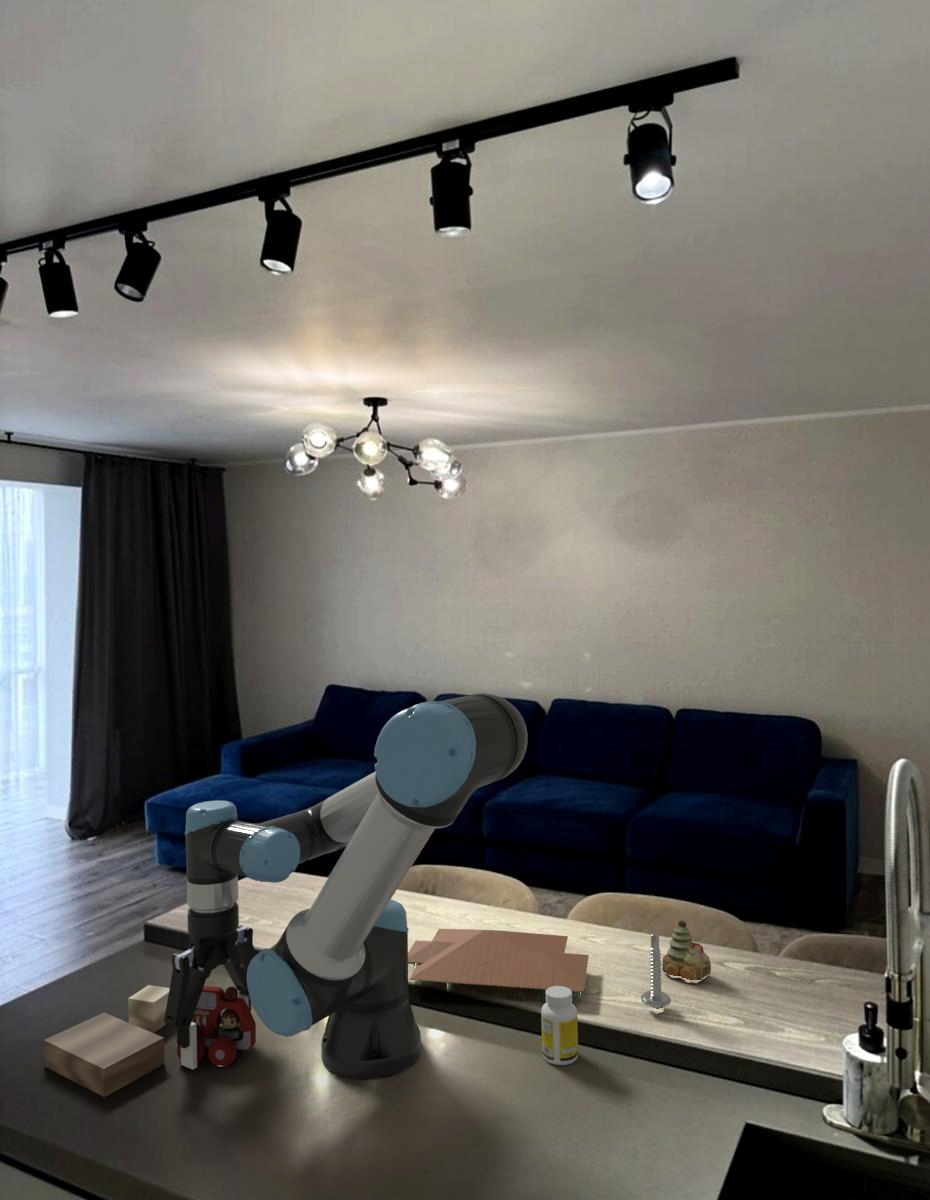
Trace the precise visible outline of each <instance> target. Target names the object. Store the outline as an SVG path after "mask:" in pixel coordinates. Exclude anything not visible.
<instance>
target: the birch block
mask: <svg viewBox="0 0 930 1200" xmlns="http://www.w3.org/2000/svg"><path fill="white" fill-rule="evenodd" d="M169 989H170V987H164V986H159V985H151V984H148V985H146V986H144V988H142V989H140V990H139V991H138V992H136V993H134V994H133V995H131V996H129V997H128V999H127V1001H128V1003H127V1004H128V1023H130V1024H133V1025H135V1026H137V1027H140V1028H142V1029H144V1030H147V1031H149V1032H151V1033H154V1034H156V1032H157V1031H159V1030H160V1029H161V1028H163V1027H164V1026H166V1025H167V1024H166V1023H164V1017H165V1012H166V1006H167V1000H168V995H169Z"/></svg>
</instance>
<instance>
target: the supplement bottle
mask: <svg viewBox="0 0 930 1200" xmlns="http://www.w3.org/2000/svg"><path fill="white" fill-rule="evenodd" d="M572 997H573V991H571V990H570V989H569V988H567V987H563V986H553V987H550V988H548V989H547V990H546V997H544V1000H545V999H546V1003H544V1004H543V1005H542V1007H541V1010H540V1011H541V1014H540V1015H541V1016H540V1017H541V1052H542V1057H543V1059H544V1060H545V1061H546V1062H547V1063H549V1064H552V1065H556V1066H557V1065H558V1066H566V1065H570V1064H573V1063H575V1062H576V1061H577V1059H578V1057H579V1036H578V1035H579V1032H578V1009H577V1007H576V1005H575V1004H573V1003H572V1002H573V998H572Z"/></svg>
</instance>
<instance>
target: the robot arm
mask: <svg viewBox="0 0 930 1200" xmlns="http://www.w3.org/2000/svg"><path fill="white" fill-rule="evenodd" d="M528 736H529V735H528V730H527V725H526V723H525V719H524V718H523V716H522V715H521V713H520V711H519V710H518V709H517V708H516V707H515V705H513V704H512V703H511V702H509V701H508V700H507V699H505V698H503V697H501V696H498V695H495V694H491V693H483V692H481V693H475V694H474V693H473V694H469V695H465V696H461V697H454V698H449V699H445V700H439V701H437V700H433V701H425V702H420V703H418V704H415V705H413V706H412V707H408V708H405V709H403V710H401V711H399V712H397V713H396V714H394V715H393V716H392V717H391V718H390V719H389V720H388V721H387V722H386V723H385V724H384V726H383V727H382V729H381V730H380V732H379V734H378V736H377V739H376V744H375V746H374V751H373V752H374V754H373V756H374V757H375V758H376V763H375V764H374V772H372V773H370V774H368V775H367V776H365V777H363V778H361V779H360V780H357V781H356V782H354V783H352V784H350V785H349V786H347V787H345V788H344V789H341V790H340V791H338V792H336V793H334V794H333V795H331V796H329V797H327V798H326V799H324V800H322V801H320V802H318V803H316V804H315V805H313V806H311V807H308V808H306V809H303V810H300V811H297V812H294V813H290V814H287V815H283V816H281V817H280V816H279V817H278V818H273V819H269V820H267V821H263V822H259V823H251V822H245V821H242V820H238V818H239V815H238V814H237V813H238V812H237V811H238V810H237V807H236V805H235V803H233V802H232V801H228V800H210V801H209V800H207V801H202V802H198V803H195V804H194V805H192V806H190V807H189V808H188V809H187V810H186V813H185V815H186V816H185V817H186V818H185V832H184V836H185V837H184V838H185V858H186V859H185V861H186V863H185V864H186V892H187V893H186V897H187V898H186V899H187V901H186V903H187V906H188V907H189V908H188V910H187V911H186V913H187V932H188V935H189V939H190V942H189V945H188V948H187V950H185V951H184V952H182V953H179V952H178V953H177V952H174V953H173V954H172V956H171V966H172V972H171V978H170V979H171V980H170V985H169V988H170V989H169V995H168V1000H167V1006H166V1012H165V1017H164V1023H166V1025H169V1026H171V1027H173V1028H176V1044H177V1046H179V1047H181V1060H180V1065H181V1066H184V1067H186V1068H188V1069H191V1070H195V1069H196V1068H198V1062H197V1035H196V1023H193V1022H192V1019H193V1016H194V1013H195V1010H196V1008H197V1005H198V1002H199V999H200V996H201V993H202V990H203V987H204V986H205V983H206V981H207V979H208V978H210V976H211V974H212V970H215V969H217V967H219V966H224V968H225V970H226V972H227V974H228V976H229V978H230V980H231V981H232V983H233V984H234V987H235V988H236V989H237V991H238V997H237V998H243V999H244V1000H245V1001H246V1003H247V1005H248V1008H249V1010H250V1012H251V1011H252V1007H253V1010H254V1012H255V1013H256V1015H257V1016H258V1019H260V1021H261V1022H262V1023H263V1024H264V1025H265V1027H266V1028H268V1030H270V1031H271V1032H273V1033H274V1034H276V1035H277V1036H278V1035H279V1036H282V1037H288V1038H289V1037H294V1036H297V1034H300V1033H303V1032H305V1031H309V1030H310V1029H311V1028H312V1026H314V1025H316V1024H317V1023H319V1022H321V1021H323V1020H324V1019H326V1018H327V1021H326V1024H325V1028H324V1033H323V1035H322V1037H321V1038H322V1039H321V1044H320V1045H321V1060H322V1063H323V1065H324V1066H325V1068H327V1069H328V1070H329V1071H330V1072H332V1073H334V1074H336V1075H339V1076H341V1077H345V1078H350V1079H358V1080H367V1079H368V1080H369V1079H379V1078H384V1077H385V1078H386V1077H388V1076H392V1075H394V1074H395V1075H396V1074H398V1073H400V1072H403V1071H404V1070H406V1069H407V1068H409V1067H411V1066H412V1065H413V1064H414V1063H416V1061H417V1060H418V1059H419V1057H420V1055H421V1052H422V1036H421V1035H422V1034H421V1031H420V1027H419V1025H418V1024H417V1023H416V1022H417V1021H416V1019H415V1016H414V1011H413V1008H412V1005H411V1002H410V997H409V964H408V952H409V937H408V934H409V927H408V920H407V918H408V917H407V912H406V909H405V907H404V906H403V905H402V903H400V902H399V901H396V900H394V899H392V898H393V896H394V895H395V893H396V892H397V890H398V889H399V886H401V883H402V882H403V880H404V879H405V878H406V876H407V874H408V872H409V871H410V869H411V867H413V864H414V863H415V861H416V860H417V858H418V857H419V856H420V854H421V851H422V850H423V848H424V847H425V845H426V844H427V842H428V841H429V839H430V837H431V836H432V834H433V833H434V832H435V829H444V828H447V827H448V826H451V825H452V824H453V823H454V822H455V820H456V819H457V818H458V815H459V814H460V812H461V811H462V810H463V808H464V806H465V805H466V803H467V802H468V800H469V799H470V797H471V796H472V794H473V793H474V792H475V791H476V790H477V789H478V788H482V787H483V786H487V785H490V784H492V783H495V782H498V781H499V780H503V779H505V778H506V777H507V776H509V775H510V774H512V773H513V772H514V771H515V770H516V769H517V768H518V767H519V766H520V764H521V763H522V761H523V759H524V757H525V754H526V751H527V747H528ZM343 848H344V850H343V852H342V854H341V855H340V856H339V859H338V860H337V861H336V864H335V866H334V867H333V869H332V871H331V872H330V873H329V875H328V877H327V879H326V881H325V883H324V884H323V886H322V888H321V889H320V891H319V893H318V895H317V896H316V897H315V900H314V902H313V903H312V905H311V907H310V908H306V909H303V910H301V911H299V912H298V913H296V914H295V915H294V916H293V917H292V918H291V919H290V921H289V922H288V924H287V926H286V928H285V929H284V931H283V932H282V934H281V935H280V938H279V939H278V941H277V942H276V943H275V944H274V945H272V946H271V947H269V948H267V947H266V948H263V949H261V950H260V951H259V953H257V954H256V951H255V946H254V944H253V942H254V941H253V940H254V938H253V936H254V930H253V928H252V927H248V926H246V925H245V926H244V925H239V924H240V919H239V918H240V917H239V916H240V915H239V913H240V912H239V909H240V908H239V903H237V902H238V901H239V876H240V877H243V878H244V877H245V878H248V879H251V880H254V881H255V882H260V883H273V884H276V883H281V882H284V881H286V880H287V879H288V878H289V877H290V875H291V874H292V873H293V872H295V871H296V869H297V867H298V865H300V864H302V863H305V862H306V861H309V860H312V859H316V858H319V857H320V856H321V857H322V856H323V855H327V854H331V853H334V852H336V851H339V850H342V849H343ZM235 946H236V947H237V951H238V953H237V952H236V950H235V949H234V948H235ZM238 954H239V956H238ZM239 960H240V961H239ZM200 968H201V969H200ZM184 1014H185V1016H184Z"/></svg>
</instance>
